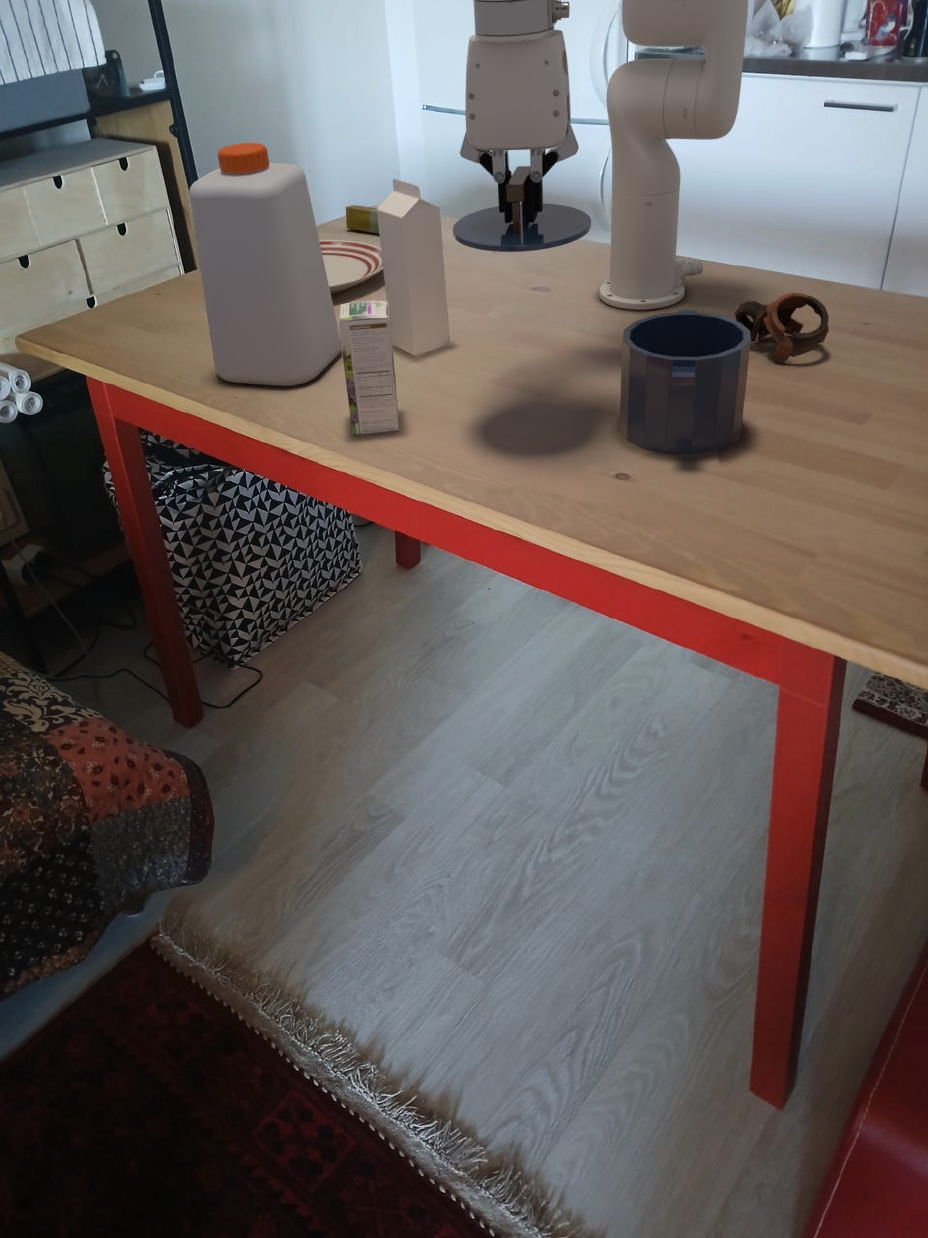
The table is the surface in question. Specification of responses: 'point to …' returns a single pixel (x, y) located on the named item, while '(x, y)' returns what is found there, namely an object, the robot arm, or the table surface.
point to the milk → (413, 270)
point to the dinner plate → (349, 262)
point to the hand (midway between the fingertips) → (521, 217)
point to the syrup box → (369, 366)
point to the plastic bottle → (262, 270)
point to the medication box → (362, 218)
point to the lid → (521, 223)
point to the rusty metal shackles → (784, 324)
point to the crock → (683, 382)
